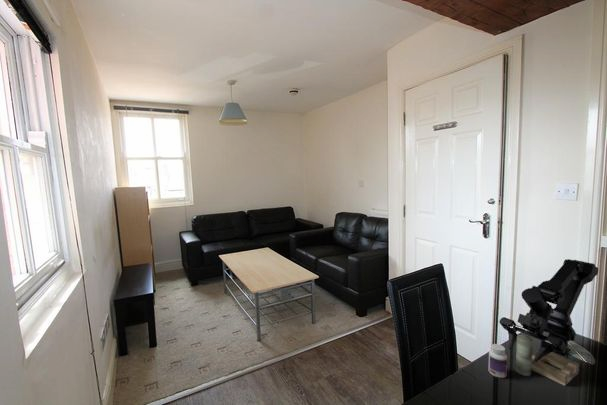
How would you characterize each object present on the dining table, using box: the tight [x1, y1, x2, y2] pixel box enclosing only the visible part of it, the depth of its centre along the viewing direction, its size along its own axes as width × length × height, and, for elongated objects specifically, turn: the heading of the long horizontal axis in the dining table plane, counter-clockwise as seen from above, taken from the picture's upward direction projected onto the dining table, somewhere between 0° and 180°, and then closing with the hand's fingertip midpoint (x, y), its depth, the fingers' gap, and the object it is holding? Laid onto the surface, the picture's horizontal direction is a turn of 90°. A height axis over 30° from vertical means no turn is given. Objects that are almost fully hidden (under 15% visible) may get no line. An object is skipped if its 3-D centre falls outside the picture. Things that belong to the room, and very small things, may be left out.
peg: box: [515, 334, 534, 377], centre depth 104 cm, size 4×4×12 cm
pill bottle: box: [487, 343, 508, 379], centre depth 104 cm, size 5×5×10 cm
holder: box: [531, 350, 580, 387], centre depth 104 cm, size 11×11×4 cm
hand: (522, 355), depth 103 cm, fingers open, 7 cm apart
